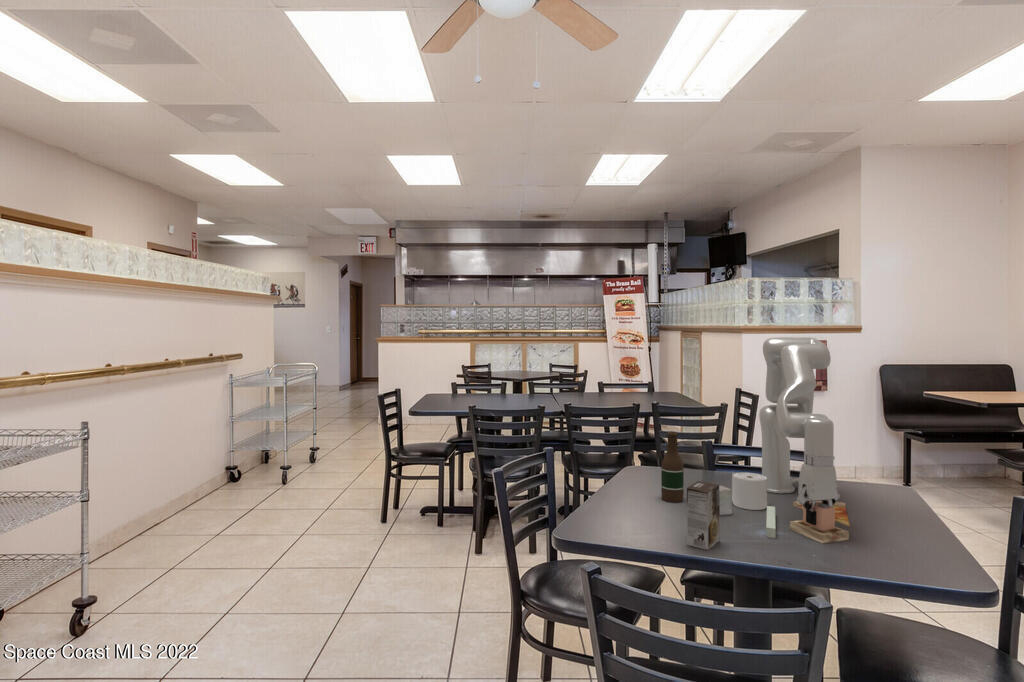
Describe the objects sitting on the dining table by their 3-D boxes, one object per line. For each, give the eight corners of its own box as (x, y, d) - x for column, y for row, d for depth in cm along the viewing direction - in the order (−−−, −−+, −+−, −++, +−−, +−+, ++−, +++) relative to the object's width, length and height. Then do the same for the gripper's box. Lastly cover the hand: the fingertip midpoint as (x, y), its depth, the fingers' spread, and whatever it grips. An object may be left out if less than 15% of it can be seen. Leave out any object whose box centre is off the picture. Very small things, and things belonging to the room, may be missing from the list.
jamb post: (721, 509, 185) (721, 485, 184) (731, 514, 180) (731, 489, 180) (708, 510, 183) (708, 486, 183) (718, 515, 178) (718, 490, 178)
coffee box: (698, 535, 161) (698, 480, 161) (720, 540, 157) (720, 484, 157) (685, 545, 154) (685, 487, 154) (708, 550, 150) (708, 491, 150)
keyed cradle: (815, 525, 168) (815, 518, 168) (848, 539, 157) (848, 531, 157) (789, 529, 166) (789, 521, 166) (822, 543, 154) (822, 535, 154)
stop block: (815, 520, 166) (815, 498, 165) (834, 528, 159) (834, 505, 159) (802, 522, 164) (803, 500, 164) (822, 530, 158) (822, 507, 157)
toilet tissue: (762, 512, 181) (762, 482, 181) (725, 505, 188) (725, 476, 188) (770, 504, 190) (770, 475, 190) (733, 498, 197) (733, 470, 197)
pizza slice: (791, 520, 175) (791, 514, 174) (792, 501, 194) (792, 495, 194) (849, 528, 167) (849, 522, 167) (844, 508, 187) (844, 502, 187)
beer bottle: (686, 502, 192) (686, 433, 192) (664, 502, 192) (664, 433, 192) (680, 496, 200) (680, 430, 199) (658, 496, 200) (658, 430, 200)
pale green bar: (766, 514, 179) (766, 505, 179) (775, 515, 178) (775, 506, 178) (766, 537, 159) (766, 527, 159) (775, 538, 158) (775, 528, 158)
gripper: (831, 455, 167) (831, 515, 167) (785, 459, 163) (784, 521, 163) (852, 461, 160) (852, 524, 160) (805, 465, 155) (804, 530, 156)
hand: (818, 522), depth 162 cm, fingers closed on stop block, 4 cm apart
